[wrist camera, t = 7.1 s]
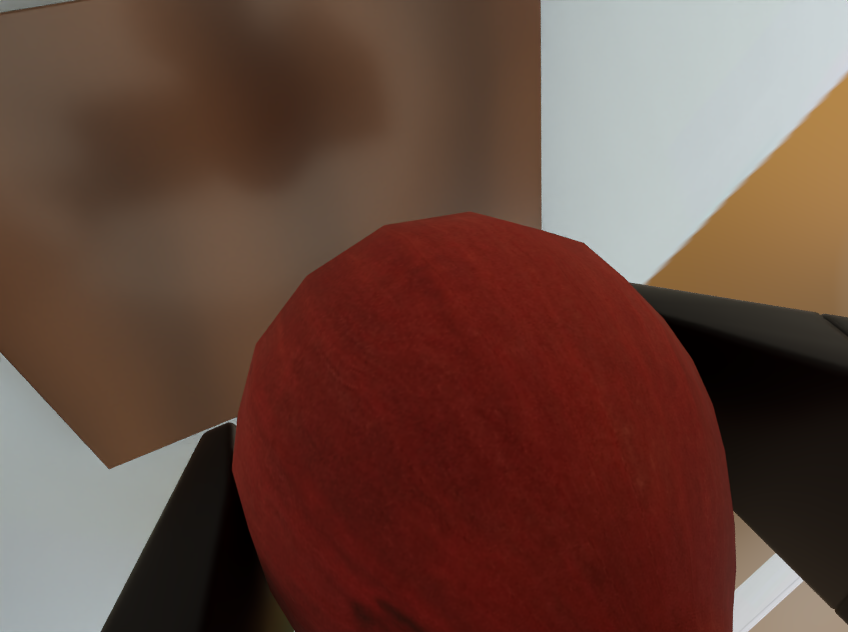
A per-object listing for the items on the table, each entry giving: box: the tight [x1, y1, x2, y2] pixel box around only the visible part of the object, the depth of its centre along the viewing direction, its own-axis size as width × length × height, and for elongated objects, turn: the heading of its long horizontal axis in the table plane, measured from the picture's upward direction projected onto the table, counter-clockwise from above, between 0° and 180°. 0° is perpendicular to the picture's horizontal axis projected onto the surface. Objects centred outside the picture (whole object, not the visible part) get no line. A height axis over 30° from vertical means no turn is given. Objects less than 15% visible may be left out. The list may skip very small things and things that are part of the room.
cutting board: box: [0, 0, 541, 469], centre depth 16 cm, size 20×14×1 cm
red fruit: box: [232, 211, 736, 632], centre depth 6 cm, size 6×6×8 cm
